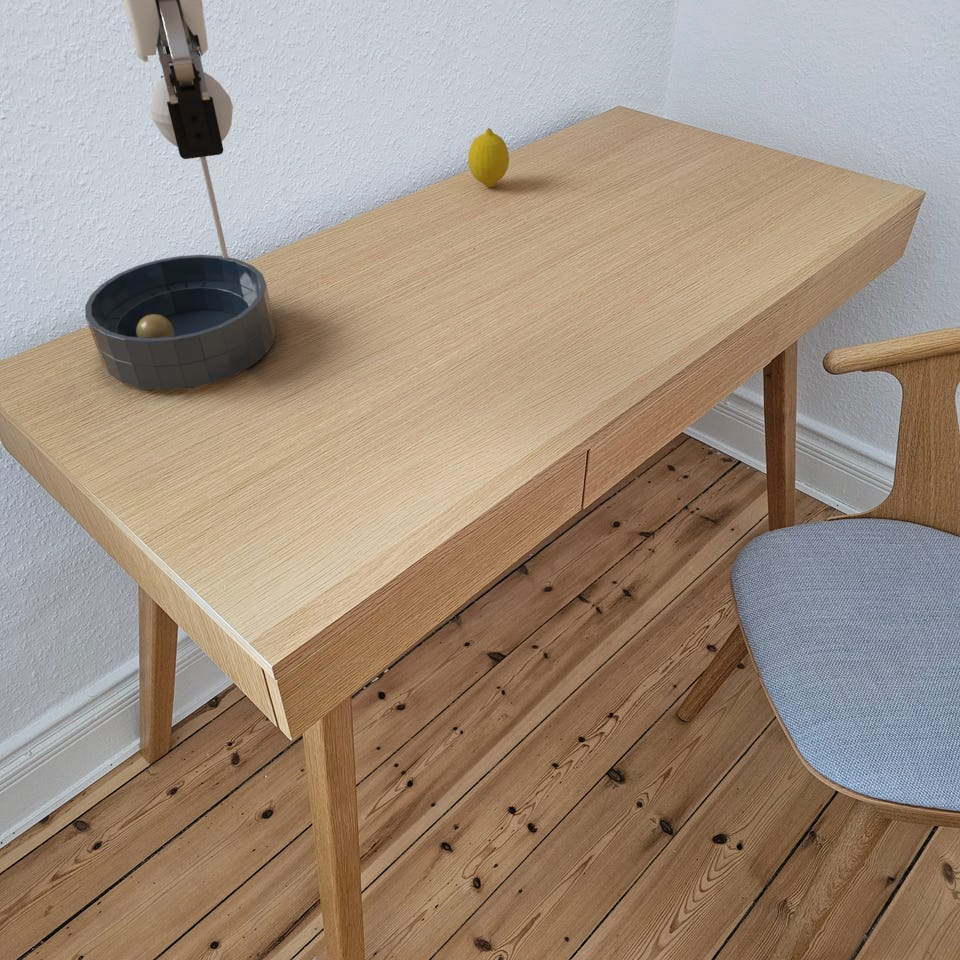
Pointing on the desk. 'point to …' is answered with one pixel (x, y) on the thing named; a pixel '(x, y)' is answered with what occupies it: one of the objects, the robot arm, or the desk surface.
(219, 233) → the lollipop
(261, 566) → the desk surface
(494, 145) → the fruit
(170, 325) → the bead
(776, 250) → the desk surface
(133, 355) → the bowl
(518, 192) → the desk surface
